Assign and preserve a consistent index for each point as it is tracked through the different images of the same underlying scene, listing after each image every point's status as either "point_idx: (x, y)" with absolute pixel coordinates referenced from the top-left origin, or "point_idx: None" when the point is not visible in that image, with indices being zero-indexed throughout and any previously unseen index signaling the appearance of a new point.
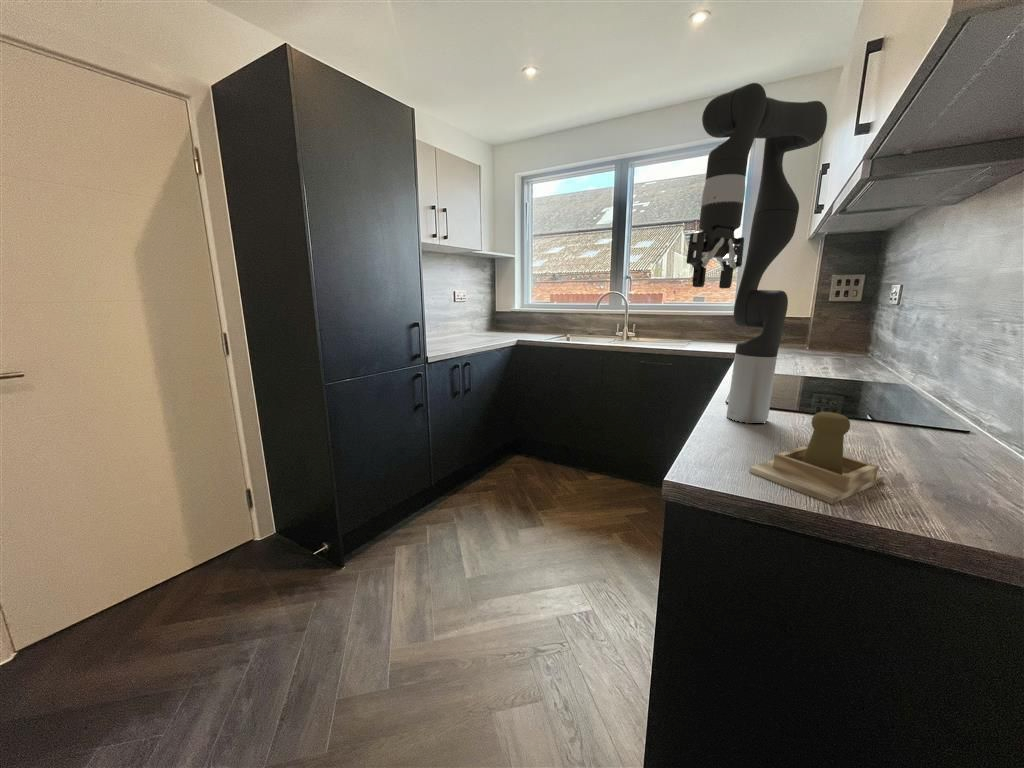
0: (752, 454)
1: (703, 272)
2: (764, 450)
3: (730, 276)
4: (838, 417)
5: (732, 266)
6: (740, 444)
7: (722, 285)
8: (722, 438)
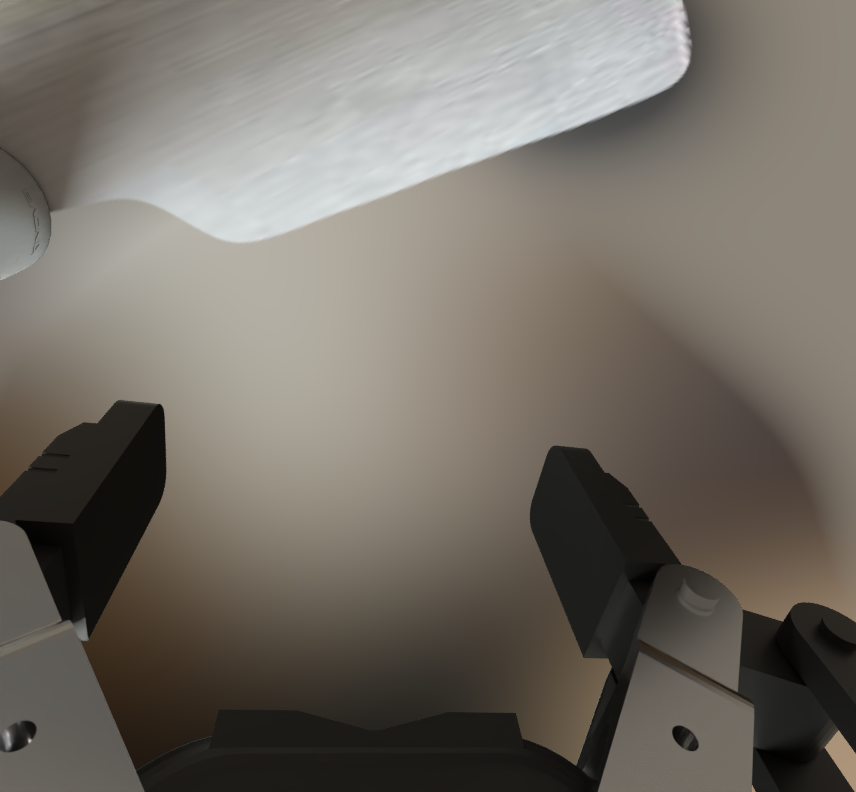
0: (336, 18)
1: (638, 526)
2: (262, 5)
3: (104, 465)
4: None
5: (27, 553)
6: (278, 89)
7: (155, 476)
8: (275, 156)
